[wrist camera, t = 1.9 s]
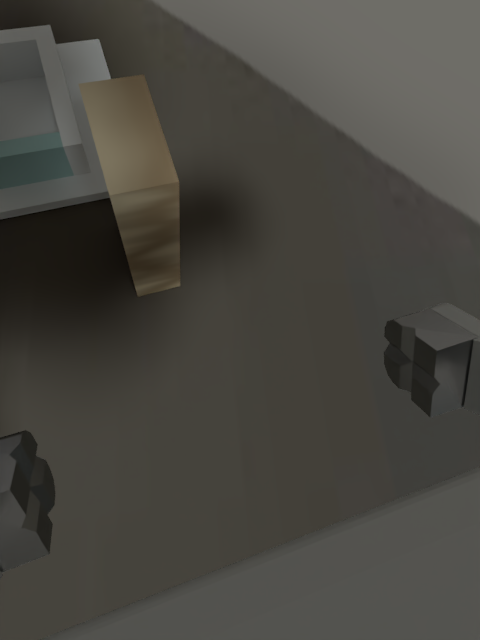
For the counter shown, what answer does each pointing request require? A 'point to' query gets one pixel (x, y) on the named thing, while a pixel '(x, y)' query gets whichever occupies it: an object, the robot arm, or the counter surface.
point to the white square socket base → (47, 122)
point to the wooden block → (137, 178)
